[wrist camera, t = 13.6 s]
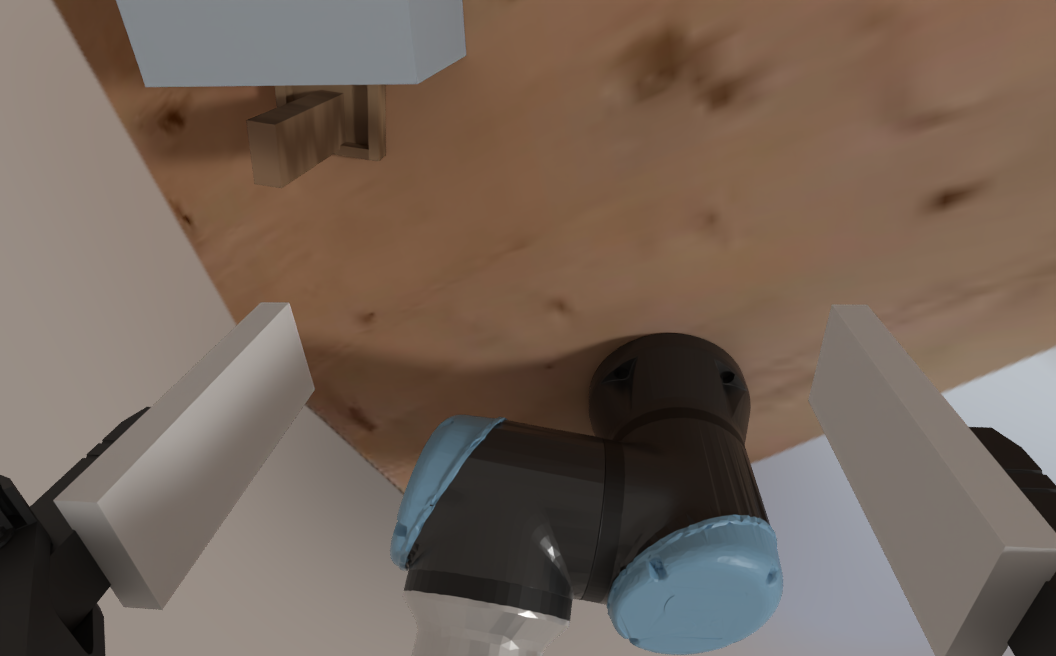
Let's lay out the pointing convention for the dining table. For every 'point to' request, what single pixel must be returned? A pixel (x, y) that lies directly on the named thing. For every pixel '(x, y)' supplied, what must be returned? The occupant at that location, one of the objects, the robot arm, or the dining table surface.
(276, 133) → the tray
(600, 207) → the dining table surface
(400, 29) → the grey step stool
